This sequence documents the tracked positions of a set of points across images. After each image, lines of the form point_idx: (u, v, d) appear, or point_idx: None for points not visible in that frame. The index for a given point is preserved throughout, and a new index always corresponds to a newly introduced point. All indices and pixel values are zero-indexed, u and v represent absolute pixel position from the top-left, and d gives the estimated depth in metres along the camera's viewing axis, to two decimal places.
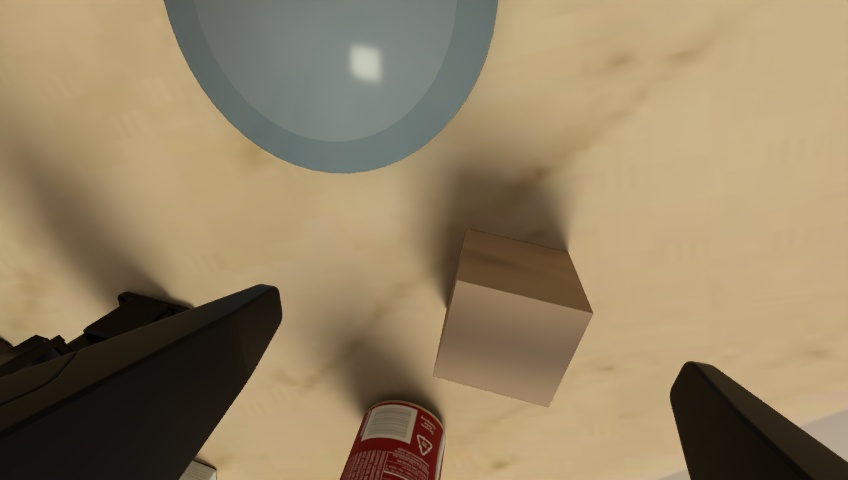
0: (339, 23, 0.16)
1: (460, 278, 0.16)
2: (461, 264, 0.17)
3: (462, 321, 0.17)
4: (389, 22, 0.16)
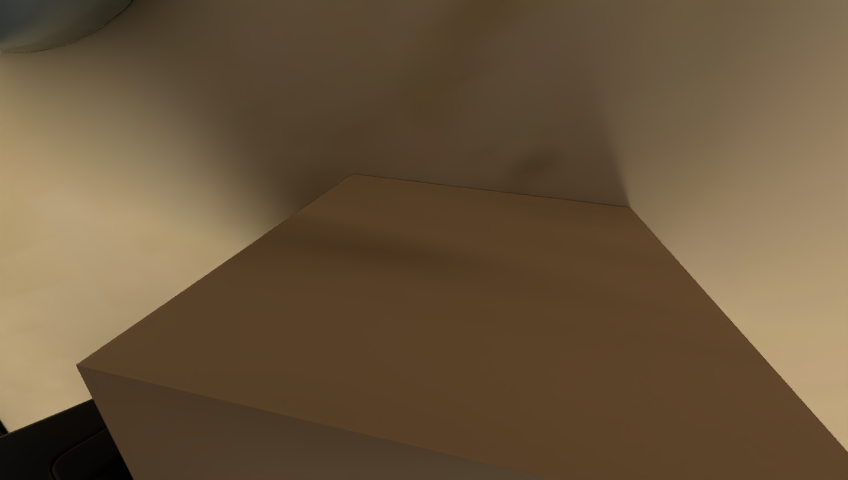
0: None
1: (110, 352, 0.03)
2: (214, 274, 0.04)
3: None
4: None
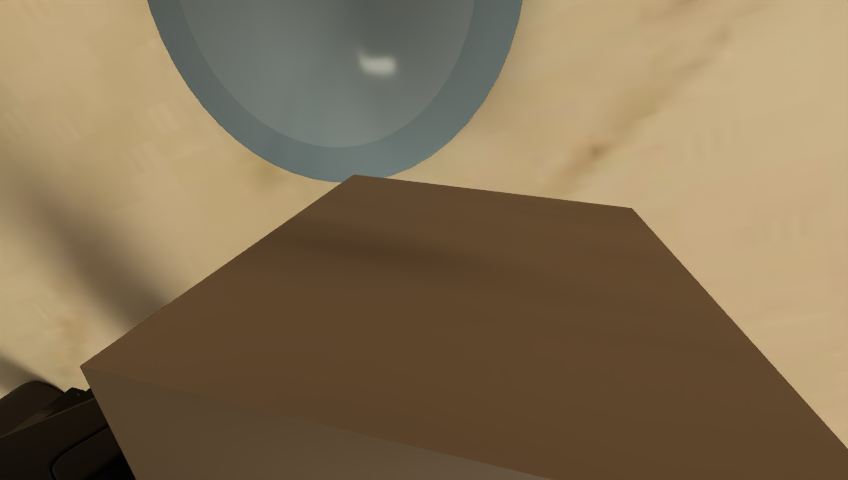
0: (342, 8, 0.14)
1: (114, 353, 0.03)
2: (216, 274, 0.04)
3: None
4: None
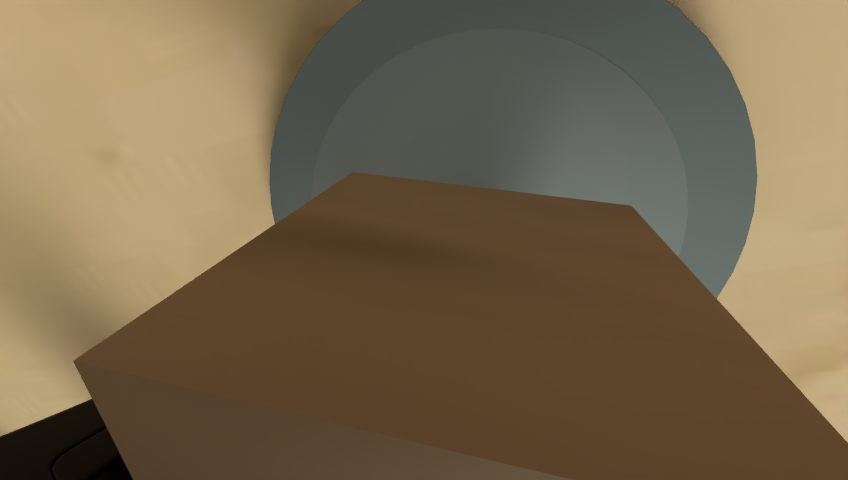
0: None
1: (108, 347, 0.03)
2: (213, 270, 0.04)
3: None
4: None
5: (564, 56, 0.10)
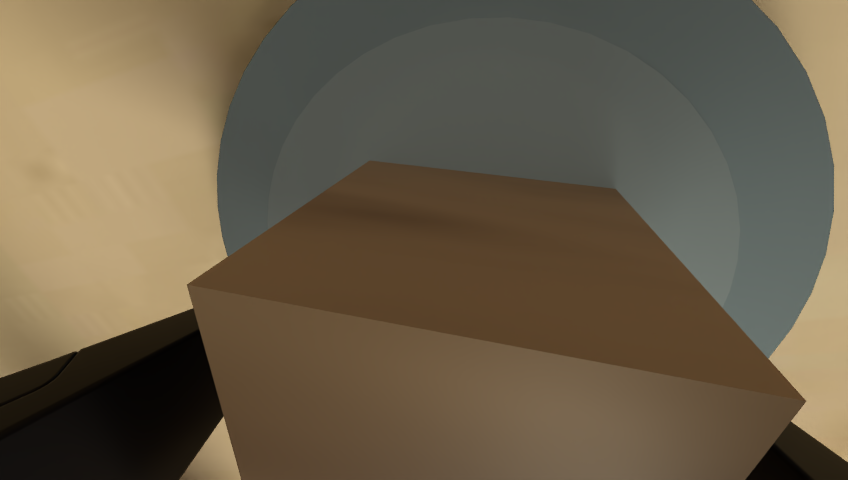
0: None
1: (209, 278, 0.04)
2: (270, 230, 0.05)
3: (270, 425, 0.05)
4: None
5: (581, 54, 0.07)
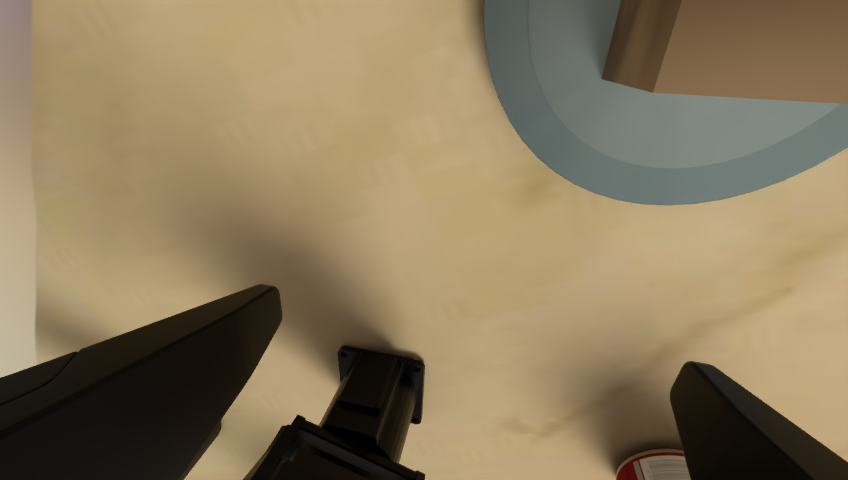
0: None
1: None
2: None
3: None
4: None
5: None
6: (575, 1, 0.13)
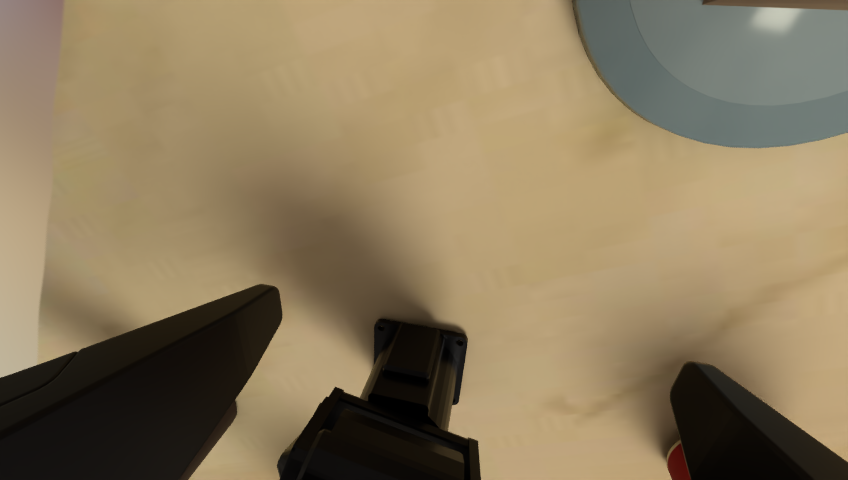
0: None
1: None
2: None
3: None
4: None
5: None
6: None
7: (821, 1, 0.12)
